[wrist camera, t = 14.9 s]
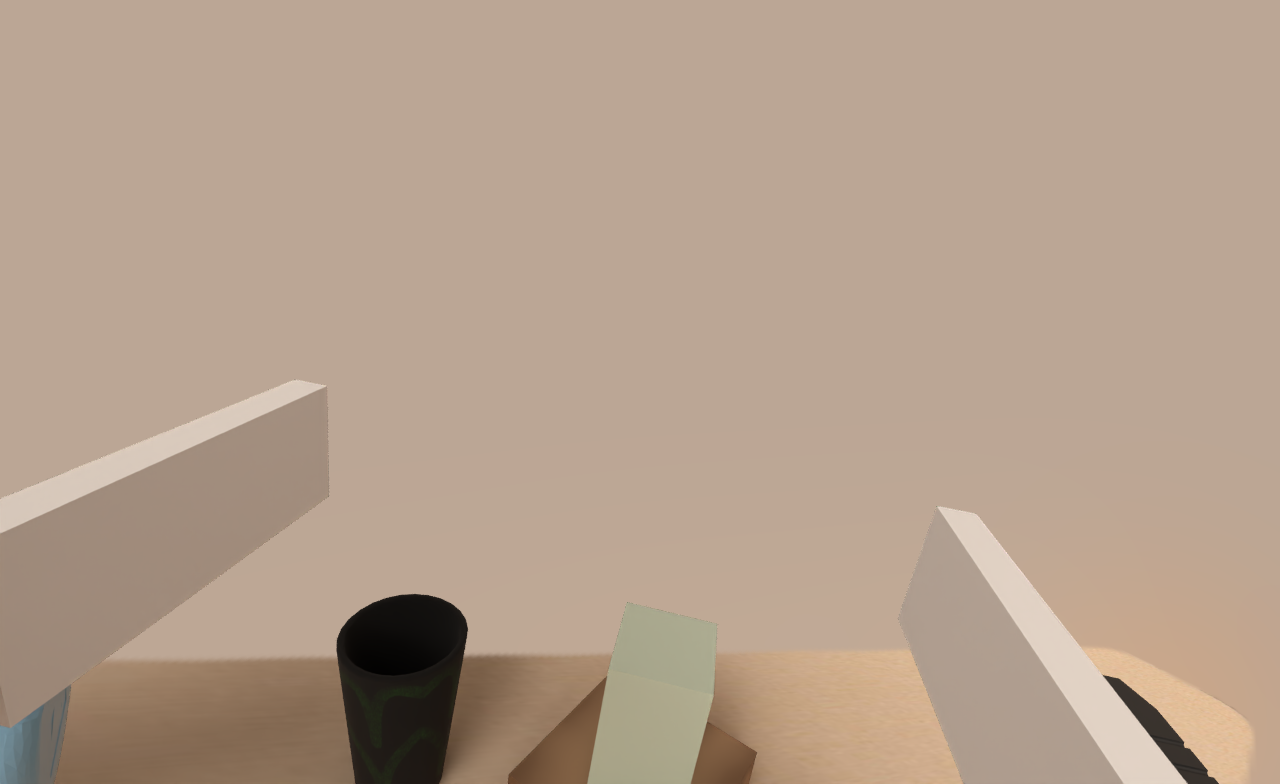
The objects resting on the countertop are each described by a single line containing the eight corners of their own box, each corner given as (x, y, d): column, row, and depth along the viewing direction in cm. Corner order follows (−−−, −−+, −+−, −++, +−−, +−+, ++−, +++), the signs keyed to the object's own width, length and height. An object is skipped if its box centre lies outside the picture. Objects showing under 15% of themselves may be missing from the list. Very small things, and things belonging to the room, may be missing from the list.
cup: (326, 756, 42) (323, 614, 38) (435, 711, 47) (441, 581, 43) (356, 853, 37) (355, 699, 33) (475, 791, 41) (487, 650, 38)
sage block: (584, 796, 37) (608, 668, 34) (604, 718, 43) (626, 602, 40) (680, 822, 37) (713, 695, 33) (688, 739, 42) (717, 623, 39)
